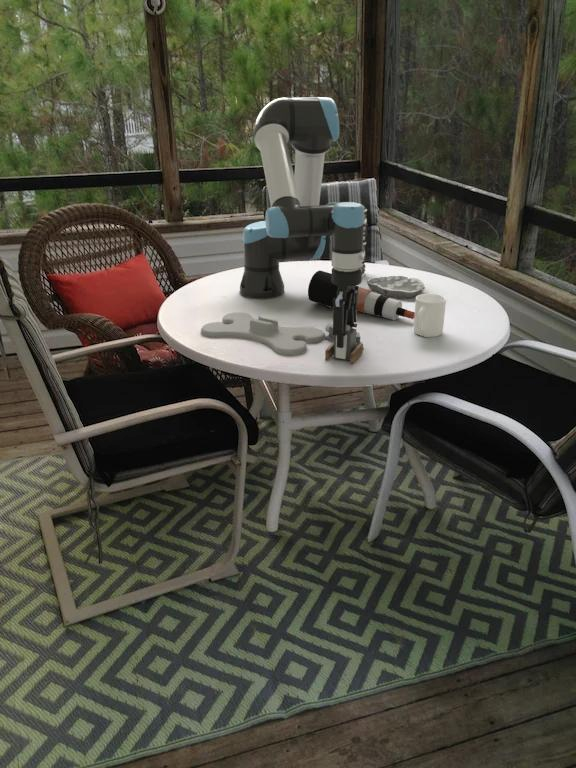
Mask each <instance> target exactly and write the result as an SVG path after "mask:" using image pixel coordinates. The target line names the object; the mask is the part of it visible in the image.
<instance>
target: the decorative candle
mask: <svg viewBox="0 0 576 768" xmlns="http://www.w3.org/2000/svg"><path fill="white" fill-rule="evenodd" d="M363 207H364V217H365V221H364V234H363V253H362V256H364V259H363V260H362V266H361V267H360V268H361V269H362V278H363V277H365V276H366V273H365V272H366V262H367V261H366V258H367V257H366V250H365V249H366V245H367V241H368V240H367V239H366V237H368V234H367V232H368V231H369V230H368V229H367V227H368V226H369V224H368V220H367V211H368V209H367V208H366V207H365V205H363Z"/></svg>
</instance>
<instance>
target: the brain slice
mask: <svg viewBox="0 0 576 768" xmlns="http://www.w3.org/2000/svg"><path fill="white" fill-rule="evenodd" d="M366 284H367V287H368V288H369V289H370V290H371V291H373V292H374V293H377V294H381V295H383V296H386V297H388V296H389V297H390V298H396V297H397V299H403V298H405V299H404V300H406V299H407V300H409V299H412V298H413V297H416V296H418V295H421V293H422V291H423V290H425V289H426V287H425V284H424V282H422V280H421V279H418V278H414V277H411V278H410V277H409V278H408V277H407V276H404V275H390V276H382V277H375V278H371V279H369V280H367V282H366Z"/></svg>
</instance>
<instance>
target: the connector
mask: <svg viewBox="0 0 576 768" xmlns="http://www.w3.org/2000/svg"><path fill="white" fill-rule="evenodd" d="M356 332H357V328H354V327H352V328H350V326H349V325H347V326H346V335H347V350H346V359H345V360H347V361H350V354H351V353H352V352H353V350H354V349H355V348H356ZM335 357H336V335H334V355H333V358H334V359H335ZM339 359H341V358H339ZM341 360H342V359H341Z"/></svg>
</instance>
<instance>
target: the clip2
mask: <svg viewBox="0 0 576 768" xmlns="http://www.w3.org/2000/svg"><path fill="white" fill-rule="evenodd" d="M360 343H363V341H361V333H360V332H359V331H356V347H357V346H358V345H359V344H360ZM363 351H364V347H363Z"/></svg>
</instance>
